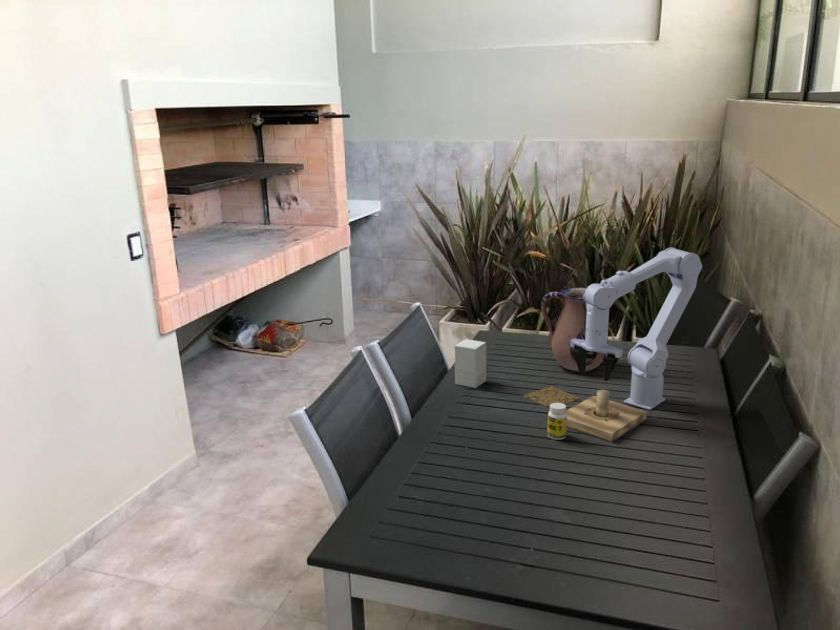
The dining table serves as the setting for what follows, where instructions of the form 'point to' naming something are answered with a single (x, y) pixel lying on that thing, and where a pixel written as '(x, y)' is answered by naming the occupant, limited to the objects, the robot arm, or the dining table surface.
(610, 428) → the bore board
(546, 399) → the cookie
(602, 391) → the dowel
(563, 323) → the ceramic pitcher
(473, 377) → the supplement box
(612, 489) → the dining table surface
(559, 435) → the supplement bottle
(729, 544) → the dining table surface
